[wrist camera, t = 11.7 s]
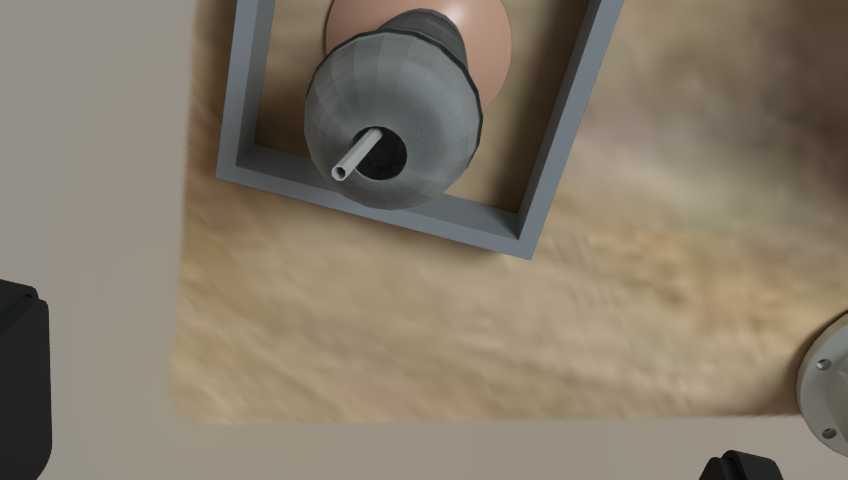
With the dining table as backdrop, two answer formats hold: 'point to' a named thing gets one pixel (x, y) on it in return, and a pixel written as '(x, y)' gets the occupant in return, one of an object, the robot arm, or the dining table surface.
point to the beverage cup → (394, 112)
